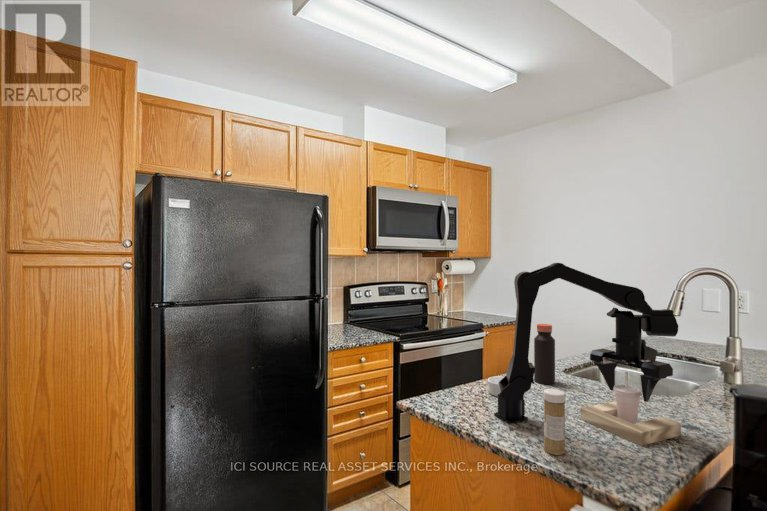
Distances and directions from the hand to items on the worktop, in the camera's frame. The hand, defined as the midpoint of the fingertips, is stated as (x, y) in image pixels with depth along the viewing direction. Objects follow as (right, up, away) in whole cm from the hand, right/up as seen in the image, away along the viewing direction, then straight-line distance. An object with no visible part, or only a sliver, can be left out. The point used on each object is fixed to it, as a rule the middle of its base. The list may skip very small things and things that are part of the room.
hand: (628, 395), depth 104 cm
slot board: (0, -8, 0) cm, 8 cm away
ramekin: (-25, -9, +26) cm, 37 cm away
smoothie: (0, -8, 0) cm, 8 cm away
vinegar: (-6, -9, +38) cm, 39 cm away
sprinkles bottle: (-25, -8, -13) cm, 29 cm away
